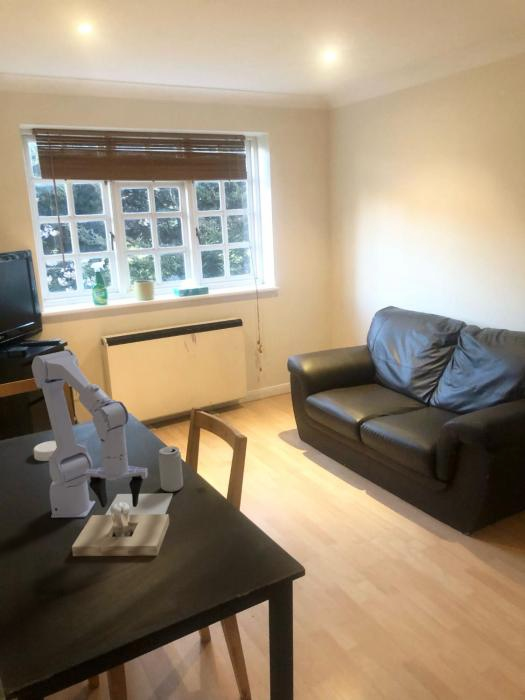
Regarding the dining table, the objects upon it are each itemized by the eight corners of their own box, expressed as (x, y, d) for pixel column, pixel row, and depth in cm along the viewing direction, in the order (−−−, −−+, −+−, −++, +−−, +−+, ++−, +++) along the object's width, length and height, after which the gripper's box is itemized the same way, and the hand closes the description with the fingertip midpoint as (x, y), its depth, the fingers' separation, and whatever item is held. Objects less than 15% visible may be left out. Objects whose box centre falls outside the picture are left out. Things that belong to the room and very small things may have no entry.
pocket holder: (73, 556, 128) (71, 546, 128) (93, 523, 142) (92, 515, 141) (157, 555, 128) (156, 545, 127) (169, 522, 141) (168, 514, 141)
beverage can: (178, 493, 156) (175, 455, 153) (157, 492, 157) (154, 453, 155) (186, 483, 162) (183, 445, 159) (165, 482, 163) (162, 444, 161)
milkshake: (116, 546, 132) (112, 509, 129) (111, 536, 136) (107, 499, 134) (135, 541, 134) (131, 504, 131) (129, 531, 138) (126, 495, 136)
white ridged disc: (33, 453, 189) (32, 443, 188) (64, 447, 193) (62, 438, 192) (35, 464, 180) (33, 454, 179) (67, 457, 184) (65, 448, 183)
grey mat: (104, 517, 145) (104, 516, 145) (117, 495, 157) (117, 494, 156) (164, 516, 144) (164, 515, 144) (173, 494, 156) (172, 493, 156)
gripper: (78, 460, 126) (84, 514, 129) (140, 459, 125) (145, 513, 128) (88, 448, 133) (94, 499, 136) (147, 447, 132) (152, 498, 135)
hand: (120, 505), depth 133 cm, fingers open, 7 cm apart
